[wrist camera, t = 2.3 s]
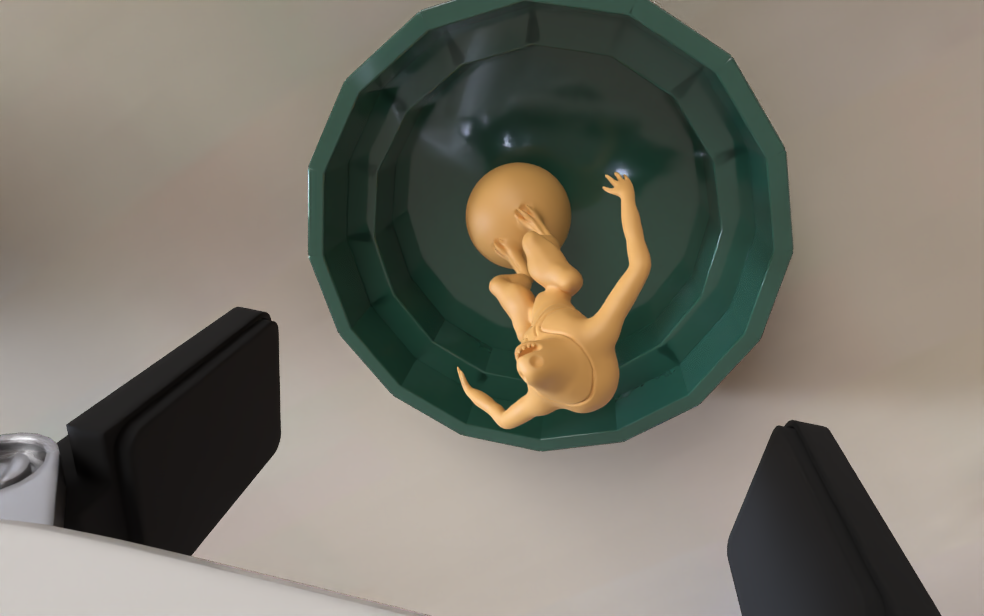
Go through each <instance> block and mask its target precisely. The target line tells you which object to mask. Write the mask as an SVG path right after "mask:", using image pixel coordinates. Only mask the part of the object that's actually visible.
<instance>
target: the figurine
mask: <svg viewBox="0 0 984 616" xmlns="http://www.w3.org/2000/svg"><path fill="white" fill-rule="evenodd" d="M614 174H615V176H616V177H617V179H618V181H616V180H614V179H613V178H612V177H610V176H609V175H605V177H606V178H607V179H608V180H609V181H610V183H611V184H612V185H613V186H614V188H608V187H603V189H604V190H605V191H606V192H608V193H610V194H613V195H616V196H619V197H620V198H621V219H622V226H623V231H624V234H625V238H626V242H627V253H628V258H629V267H628V269H627V270H626V272H625V273H624V274H623V276H622V277H621V278H620V280H619V281H618V282H617V284H616V285H615V287H614V288H613V290H612V291H611V293H610V294H609V296H608V297H607V299H606V300H605V302H604V304H603V305H602V307H601V308H600V310H599V311H598V312H597V313H596V314H595V315H594V316H593V317H591V318H587V317H585V316H584V315H583V314H582V313H581V312H579V311H578V310H577V309H575V307H574V306H573V305H572V304H571V297H572V296H573V295H575V294H576V293H577V292H578V291H579V290H580V289H581V287H582V285H583V278H582V276H581V274H580V273H579V272H578V271H577V270H576V269H575V268H574V267H572V266H571V265H570V264H569V263H568V261H567V260H566V258H565V257H564V255H563V253H562V252H561V251H560V248H561V246H562V245H563V243H564V242H565V240H566V238H567V235H568V232H569V229H570V224H571V207H570V202H569V199H568V196H567V193H566V191H565V189H564V188H563V186H562V185H561V183H560V182H559V181H558V180H557V179H556V178H555V177H554V176H553V175H552V174H551V173H550V172H548V171H547V170H545V169H543V168H541V167H539V166H536V165H533V164H529V163H519V162H518V163H509V164H505V165H501V166H499V167H496V168H494V169H493V170H491V171H489V172H488V173H487V174H485V175H484V176H483V177H482V178H481V179H480V180H479V181H478V183H477V184H476V185H475V187H474V188H473V190H472V192H471V194H470V196H469V199H468V202H467V207H466V226H467V230H468V234H469V236H470V239H471V241H472V243H473V244H474V246H475V247H476V249H477V250H478V251H479V252H480V253H481V254H482V255H483V256H484V257H485V258H486V259H488V260H489V261H491V262H492V263H494V264H496V265H499V266H501V267H505V268H509V269H514V270H515V272H516V273H517V274H510V275H498V276H496V277H494V278H493V279H492V280H491V281H490V284H489V290H490V292H491V293H492V294H493V295H494V296H495V297H496V298H497V299H498V301H499V303H500V304H501V306H502V308H503V309H504V310H505V312H506V313H507V314H508V316H509V317H510V318H511V320H512V324H513V327H514V329H515V331H516V334H517V338H518V340H519V341H520V342H521V344H520V345H519V346H517V348H516V350H515V358H516V361H517V371H518V373H519V375H520V376H521V378H522V379H523V380H524V381H525V382H526V383H527V386H528V392H527V394H526V395H525V396H523V397H522V398H520V399H519V400H518V401H516V402H515V403H514V404H513V405H511V406H510V407H509V408H508V409H507V410H506V411H505V409H504V408H503V407H502V406H501V405H500V404H498V403H496V402H495V401H494V400H493V399H492V398H491V397H490V396H488V395H487V394H486V393H484V392H482V391H480V390H477V389H474V388H472V387H471V386H470V385H469V383H468V381H467V380H466V378H465V375H464V373H463V372H462V371H461V370H460V369H459V367H457V371H458V374H459V378H460V381H461V384H462V387H463V389H464V391H465V393H466V395H467V396H468V397H469V398H470V399H471V400H472V401H473V403H474V404H475V405H476V406H478V407H479V408H481V409H482V410H484V411H485V412H487V413H488V414H489V415H490V416H491V417H492V418H493V420H494V421H495V422H496V423H497V424H498V425H499V426H500V427H501V428H504V429H512V428H515V427H517V426H519V425H521V424H524V423H526V422H527V421H529V420H531V419H532V418H534V417H536V416H543V415H547V414H549V413H551V412H553V411H555V410H558V409H567V410H570V411H573V412H576V413H589V412H593V411H595V410H598V409H600V408H602V407H603V406H605V405H606V404H607V403H608V402H609V401H610V400H611V399H612V397H613V396H614V394H615V392H616V389H617V386H618V382H619V367H618V361H617V357H616V353H615V345H616V342H617V340H618V338H619V335H620V332H621V329H622V325H623V322H624V320H625V318H626V316H627V314H628V312H629V311H630V309H631V308H632V306H633V304H634V302H635V301H636V299H637V297H638V295H639V293H640V291H641V289H642V288H643V286H644V284H645V282H646V280H647V278H648V275H649V273H650V269H651V258H650V254H649V251H648V248H647V245H646V243H645V240H644V235H643V229H642V225H641V220H640V215H639V212H638V210H637V207H636V203H635V192H634V188H633V185H632V182H631V181H630V179H629V178H628V177H627V176H626V175H625V174H624V178H625V180H624V179H623V178H622V177H621V175H620V174H619V173H617V172H615V173H614ZM533 280H535V281H536V282H537V283H539V284H540V285H542V286H543V287H544V288H545V291H543V292H540V293H539V294H538V295H537V296H536V298H535V297H534V295H533V293H532V292H531V291H530V289H531V286H532V283H533Z"/></svg>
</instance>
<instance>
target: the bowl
mask: <svg viewBox="0 0 984 616" xmlns="http://www.w3.org/2000/svg"><path fill="white" fill-rule="evenodd" d="M518 162H519V163H529V164H533V165H536V166H539V167H541V168H543V169H545V170H547V171H548V172H550V173H551V174H552V175H553V176H554V177H555V178H556V179H557V180H558V181H559V182H560V183H561V185H562V186H563V188H564V189H565V191H566V193H567V196H568V199H569V202H570V207H571V224H570V229H569V232H568V235H567V238H566V240H565V242H564V243H563V245H562V246H561V248H560V251H561V252H562V253H563V255H564V257H565V258H566V260H567V261H568V263H569V264H570V265H571V266H572V267H574V268H575V269H576V270H577V271H578V272H579V273H580V274H581V276H582V278H583V285H582V287H581V289H580V290H579V291H578V292H577V293H576V294H575V295H573V296H572V297H571V304H572V305H573V306H574V307H575V309H577V310H578V311H579V312H581V313H582V314H583V315H584V316H585V317H587V318H591V317H593V316H594V315H595V314H596V313H597V312H598V311H599V310H600V308H601V307H602V305H603V304H604V302H605V300H606V299H607V297H608V296H609V294H610V293H611V291H612V290H613V288H614V287H615V285H616V284H617V282H618V281H619V280H620V278H621V277H622V276H623V274H624V273H625V272H626V270H627V269H628V267H629V258H628V253H627V242H626V238H625V234H624V231H623V226H622V219H621V198H620V197H619V196H616V195H613V194H610V193H608V192H606V191H605V190H604V189H603V187H608V188H614V186H613V185H612V184H611V183H610V181H609V180H608V179H607V178H606V177H605V175H609V176H610V177H612V178H613V179H614V180H616V181H618V179H617V177H616V176H615V174H614V173H615V172H617V173H619V174H620V175H621V177H622V178H623V179H624V180H625V178H624V174H625V175H626V176H627V177H628V178H629V179H630V181H631V182H632V185H633V188H634V192H635V203H636V207H637V210H638V212H639V215H640V220H641V225H642V229H643V235H644V240H645V243H646V245H647V248H648V251H649V254H650V258H651V269H650V273H649V275H648V278H647V280H646V282H645V284H644V286H643V288H642V289H641V291H640V293H639V295H638V297H637V299H636V301H635V302H634V304H633V306H632V308H631V309H630V311H629V312H628V314H627V316H626V318H625V320H624V322H623V325H622V329H621V332H620V335H619V338H618V340H617V342H616V345H615V353H616V357H617V361H618V367H619V382H618V386H617V389H616V392H615V394H614V396H613V397H612V399H611V400H610V401H609V402H608V403H607V404H606V405H605V406H603V407H602V408H600V409H598V410H595V411H593V412H589V413H576V412H573V411H570V410H567V409H558V410H555V411H553V412H551V413H549V414H547V415H543V416H536V417H534V418H532V419H531V420H529V421H527V422H526V423H524V424H521V425H519V426H517V427H515V428H512V429H504V428H501V427H500V426H499V425H498V424H497V423H496V422H495V421H494V420H493V418H492V417H491V416H490V415H489V414H488V413H487V412H485V411H484V410H482V409H481V408H479V407H478V406H476V405H475V404H474V403H473V401H472V400H471V399H470V398H469V397H468V396H467V395H466V393H465V391H464V389H463V387H462V384H461V381H460V378H459V374H458V371H457V367H459V369H460V370H461V371H462V372H463V373H464V375H465V378H466V380H467V381H468V383H469V385H470V386H471V387H472V388H474V389H477V390H480V391H482V392H484V393H486V394H487V395H488V396H490V397H491V398H492V399H493V400H494V401H495V402H496V403H498V404H500V405H501V406H502V407H503V408H504V409H505V411H506V410H507V409H508V408H509V407H510V406H511V405H513V404H514V403H515V402H516V401H518V400H519V399H520V398H522V397H523V396H525V395H526V394H527V392H528V386H527V383H526V382H525V381H524V380H523V379H522V378H521V376H520V375H519V373H518V371H517V361H516V358H515V350H516V348H517V346H519V345H520V344H521V342H520V341H519V340H518V338H517V334H516V331H515V329H514V327H513V324H512V320H511V318H510V317H509V316H508V314H507V313H506V312H505V310H504V309H503V308H502V306H501V304H500V303H499V301H498V299H497V298H496V297H495V296H494V295H493V294H492V293H491V292H490V290H489V284H490V281H491V280H492V279H493V278H494V277H496V276H498V275H510V274H517V273H516V272H515V270H514V269H509V268H505V267H501V266H499V265H496V264H494V263H492V262H491V261H489V260H488V259H486V258H485V257H484V256H483V255H482V254H481V253H480V252H479V251H478V250H477V249H476V247H475V246H474V244H473V243H472V241H471V239H470V236H469V234H468V230H467V226H466V207H467V202H468V199H469V196H470V194H471V192H472V190H473V188H474V187H475V185H476V184H477V183H478V181H479V180H480V179H481V178H482V177H483V176H484V175H485V174H487V173H488V172H489V171H491V170H493V169H494V168H496V167H499V166H501V165H505V164H509V163H518ZM308 167H309V168H308V255H309V259H310V262H311V265H312V267H313V270H314V272H315V275H316V277H317V280H318V282H319V285H320V288H321V290H322V293H323V295H324V298H325V300H326V303H327V305H328V308H329V310H330V313H331V316H332V318H333V321H334V323H335V326H336V328H337V331H338V333H340V336H341V337H342V338H343V339H344V341H345V342H346V343H347V344H348V345H349V346H350V347H351V348H352V350H353V351H354V352H355V353H356V354H357V355H358V356H359V358H360V359H361V360H362V361H363V362H364V363H365V364H366V366H367V367H368V368H369V369H370V370H371V371H372V372H373V374H374V375H375V376H376V377H377V378H378V379H379V380H380V382H381V383H382V384H383V385H384V386H385V387H386V388H387V390H388V391H389V392H390V393H391V394H393V396H395V397H396V398H398V399H400V400H401V401H403V402H405V403H407V404H408V405H410V406H412V407H414V408H415V409H417V410H419V411H421V412H422V413H424V414H426V415H427V416H429V417H431V418H433V419H434V420H436V421H438V422H440V423H441V424H443V425H445V426H447V427H448V428H450V429H452V430H453V431H455V432H457V433H459V434H460V435H464V436H468V437H473V438H478V439H483V440H488V441H492V442H497V443H502V444H507V445H512V446H516V447H521V448H526V449H531V450H536V451H551V450H559V449H568V448H576V447H585V446H594V445H602V444H611V443H619V442H622V441H623V442H624V441H626V440H628V439H630V438H632V437H634V436H636V435H638V434H641V433H643V432H645V431H647V430H649V429H651V428H653V427H655V426H657V425H659V424H661V423H663V422H665V421H667V420H669V419H671V418H673V417H675V416H677V415H680V414H682V413H684V412H686V411H688V410H690V409H692V408H694V407H696V406H698V405H699V404H701V403H702V401H703V400H704V399H705V398H706V397H707V396H708V395H709V394H710V393H711V392H712V391H713V390H714V389H715V388H716V387H717V385H718V384H719V383H720V382H721V381H722V380H723V379H724V378H725V377H726V376H727V375H728V374H729V373H730V372H731V371H732V370H733V368H734V367H735V366H736V365H737V364H738V363H739V362H740V361H741V360H742V359H743V358H744V357H745V356H746V355H747V354H748V352H749V351H750V350H751V349H752V348H753V347H754V346H755V345H756V344H757V343H758V342H759V341H760V339H761V337H762V334H763V332H764V329H765V326H766V324H767V321H768V318H769V315H770V313H771V310H772V307H773V305H774V302H775V299H776V297H777V294H778V291H779V289H780V286H781V283H782V281H783V278H784V275H785V273H786V270H787V267H788V265H789V262H790V259H791V257H792V254H793V251H792V250H793V236H792V222H791V209H790V195H789V181H788V167H787V153H786V151H785V147H784V145H783V143H782V141H781V140H780V138H779V136H778V134H777V133H776V131H775V129H774V128H773V126H772V124H771V122H770V121H769V119H768V117H767V115H766V114H765V112H764V110H763V108H762V107H761V105H760V103H759V102H758V100H757V98H756V96H755V95H754V93H753V91H752V89H751V88H750V86H749V84H748V83H747V81H746V79H745V77H744V76H743V74H742V72H741V70H740V69H739V67H738V65H737V63H736V62H735V60H734V58H733V57H731V55H730V54H729V53H727V52H726V51H724V50H723V49H721V48H720V47H718V46H717V45H715V44H714V43H712V42H711V41H709V40H708V39H706V38H705V37H703V36H702V35H700V34H699V33H697V32H696V31H694V30H693V29H691V28H690V27H688V26H687V25H685V24H684V23H682V22H681V21H680V20H678V19H677V18H675V17H674V16H672V15H671V14H669V13H668V12H666V11H665V10H663V9H662V8H660V7H659V6H657V5H656V4H654V3H653V2H651V1H650V0H451V1H448V2H445V3H441V4H438V5H435V6H432V7H429V8H426V9H423V10H421V12H418V13H417V14H416V15H415V16H414V17H412V18H411V19H410V20H409V21H408V22H407V23H406V24H405V25H404V26H403V27H402V28H401V29H400V30H398V31H397V32H396V33H395V34H394V35H393V36H392V37H391V38H390V39H389V40H388V41H387V42H385V43H384V44H383V45H382V46H381V47H380V48H379V49H378V50H377V51H376V52H375V53H374V54H373V55H371V56H370V57H369V58H368V59H367V60H366V61H365V62H364V63H363V64H362V65H361V66H360V67H358V68H357V69H356V70H355V71H354V72H353V73H352V74H351V75H350V76H349V77H348V78H347V79H346V81H344V83H343V85H342V88H341V90H340V93H339V95H338V97H337V100H336V102H335V104H334V107H333V109H332V111H331V114H330V116H329V119H328V121H327V123H326V126H325V128H324V130H323V133H322V135H321V137H320V140H319V142H318V145H317V147H316V149H315V152H314V154H313V156H312V159H311V161H310V163H309V166H308ZM530 291H531V292H532V293H533V295H534V297H535V298H536V296H537V295H538V294H539V293H540V292H543V291H545V288H544V287H543V286H542V285H540V284H539V283H537V282H536V281H535V280H533V283H532V286H531V289H530Z"/></svg>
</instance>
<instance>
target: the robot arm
mask: <svg viewBox="0 0 984 616" xmlns="http://www.w3.org/2000/svg"><path fill="white" fill-rule="evenodd" d="M66 426H67V431H68V435H67V436H66V437H65V438H63V439H62V440H60V441H59V442H58V443H56V442H54V441H53V440H52V439H51V438H49V437H46V436H43V435H40V434H35V433H12V434H2V435H0V616H430V615H426V614H423V613H419V612H415V611H411V610H407V609H403V608H399V607H395V606H391V605H387V604H383V603H379V602H375V601H371V600H367V599H363V598H359V597H355V596H351V595H347V594H343V593H339V592H335V591H331V590H327V589H323V588H319V587H314V586H310V585H306V584H302V583H298V582H294V581H290V580H286V579H282V578H278V577H274V576H270V575H266V574H262V573H258V572H253V571H249V570H245V569H241V568H237V567H233V566H229V565H225V564H221V563H217V562H213V561H209V560H205V559H201V558H197V557H192V556H191V555H192V554H193V553H194V552H195V550H196V549H197V548H198V547H199V545H200V544H201V543H202V542H203V541H204V539H205V538H206V537H207V536H208V534H209V533H210V532H211V531H212V529H213V528H214V527H215V526H216V525H217V523H218V522H219V521H220V520H221V518H222V517H223V516H224V515H225V514H226V512H227V511H228V510H229V509H230V507H231V506H232V505H233V504H234V502H235V501H236V500H237V499H238V498H239V496H240V495H241V494H242V493H243V491H244V490H245V489H246V488H247V487H248V485H249V484H250V483H251V482H252V480H253V479H254V478H255V477H256V475H257V474H258V473H259V472H260V471H261V469H262V468H263V467H264V466H265V464H266V463H267V462H268V461H269V460H270V458H271V457H272V456H273V455H274V453H275V452H276V450H277V448H278V445H279V442H280V438H281V420H280V376H279V332H278V325H277V323H276V322H274V321H271V318H270V315H269V314H268V313H267V312H262V311H257V310H253V309H248V308H243V307H236V308H233V309H232V310H231V311H229V312H228V313H226V314H225V315H223V316H222V317H220V318H219V319H218V320H216V321H215V322H213V323H212V324H210V325H209V326H208V327H206V328H205V329H203V330H202V331H200V332H199V333H197V334H196V335H195V336H193V337H192V338H190V339H189V340H187V341H186V342H185V343H183V344H182V345H180V346H179V347H177V348H176V349H174V350H173V351H172V352H170V353H169V354H167V355H166V356H164V357H163V358H162V359H160V360H159V361H157V362H156V363H154V364H153V365H151V366H150V367H149V368H147V369H146V370H144V371H143V372H141V373H140V374H139V375H137V376H136V377H134V378H133V379H131V380H130V381H128V382H127V383H126V384H124V385H123V386H121V387H120V388H118V389H117V390H116V391H114V392H113V393H111V394H110V395H108V396H107V397H106V398H104V399H103V400H101V401H100V402H98V403H97V404H95V405H94V406H93V407H91V408H90V409H88V410H87V411H85V412H84V413H83V414H81V415H80V416H78V417H77V418H75V419H74V420H72V421H71V422H70V423H68V424H67V425H66ZM727 556H728V561H729V565H730V569H731V573H732V577H733V581H734V585H735V589H736V593H737V597H738V601H739V605H740V609H741V613H742V616H941V614H940V612H939V611H938V609H937V607H936V606H935V604H934V602H933V601H932V599H931V598H930V596H929V594H928V593H927V591H926V589H925V588H924V586H923V584H922V583H921V581H920V579H919V578H918V576H917V574H916V573H915V571H914V569H913V568H912V566H911V564H910V563H909V561H908V559H907V558H906V556H905V554H904V553H903V551H902V549H901V548H900V546H899V545H898V543H897V541H896V540H895V538H894V536H893V535H892V533H891V531H890V530H889V528H888V526H887V525H886V523H885V521H884V520H883V518H882V516H881V515H880V513H879V511H878V510H877V508H876V506H875V505H874V503H873V501H872V500H871V498H870V496H869V495H868V493H867V492H866V490H865V488H864V487H863V485H862V483H861V482H860V480H859V478H858V477H857V475H856V473H855V472H854V470H853V468H852V467H851V465H850V463H849V462H848V460H847V458H846V457H845V455H844V453H843V452H842V450H841V448H840V447H839V445H838V443H837V442H836V440H835V439H834V437H833V435H832V434H831V432H830V430H829V429H828V428H827V427H824V426H819V425H814V424H809V423H804V422H799V421H795V420H791V421H788V423H787V424H786V425H785V426H784V427H783V426H776V428H775V429H774V430H773V432H772V434H771V437H770V439H769V442H768V444H767V446H766V449H765V451H764V454H763V456H762V458H761V461H760V463H759V466H758V468H757V471H756V473H755V475H754V478H753V480H752V483H751V485H750V487H749V490H748V492H747V495H746V497H745V500H744V502H743V504H742V507H741V509H740V512H739V514H738V516H737V519H736V521H735V524H734V526H733V529H732V531H731V533H730V536H729V539H728V545H727Z"/></svg>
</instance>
